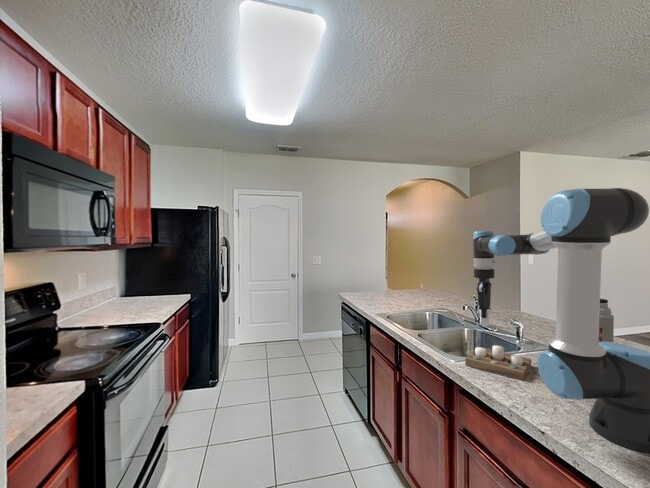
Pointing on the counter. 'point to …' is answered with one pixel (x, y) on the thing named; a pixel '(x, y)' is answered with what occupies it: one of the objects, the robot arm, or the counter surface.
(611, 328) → the thermos bottle
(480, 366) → the button board
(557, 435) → the counter surface
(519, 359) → the button
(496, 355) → the button
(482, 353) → the white rounded cylinder
